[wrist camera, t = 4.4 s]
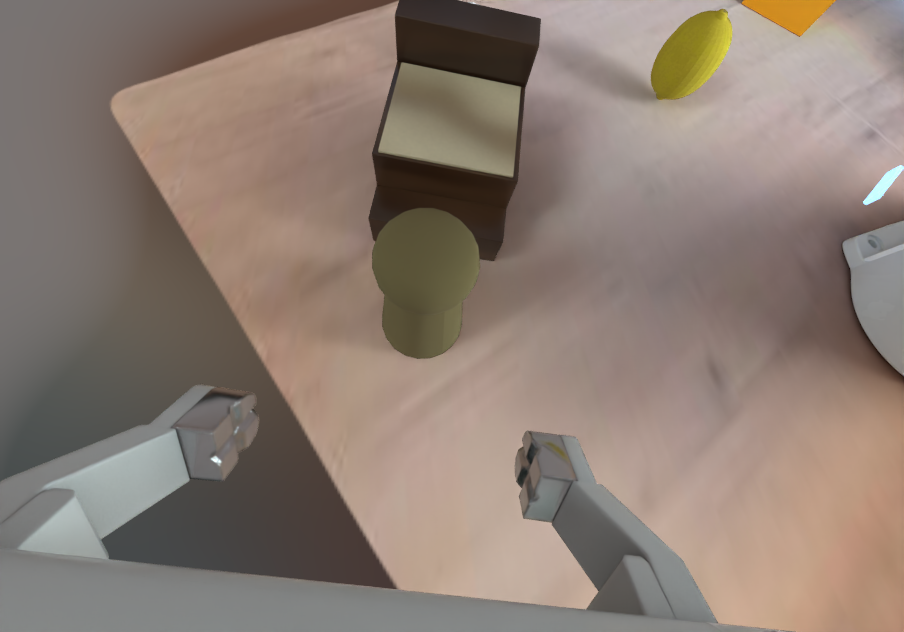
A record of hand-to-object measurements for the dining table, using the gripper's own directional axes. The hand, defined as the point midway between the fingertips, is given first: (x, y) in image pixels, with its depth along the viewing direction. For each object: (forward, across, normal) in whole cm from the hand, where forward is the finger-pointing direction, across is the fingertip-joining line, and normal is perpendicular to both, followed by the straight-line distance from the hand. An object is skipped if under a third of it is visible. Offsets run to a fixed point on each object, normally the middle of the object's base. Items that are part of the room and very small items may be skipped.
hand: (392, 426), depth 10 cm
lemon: (+35, -22, -17) cm, 45 cm away
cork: (+15, 0, +4) cm, 15 cm away
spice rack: (+24, 0, -6) cm, 25 cm away
